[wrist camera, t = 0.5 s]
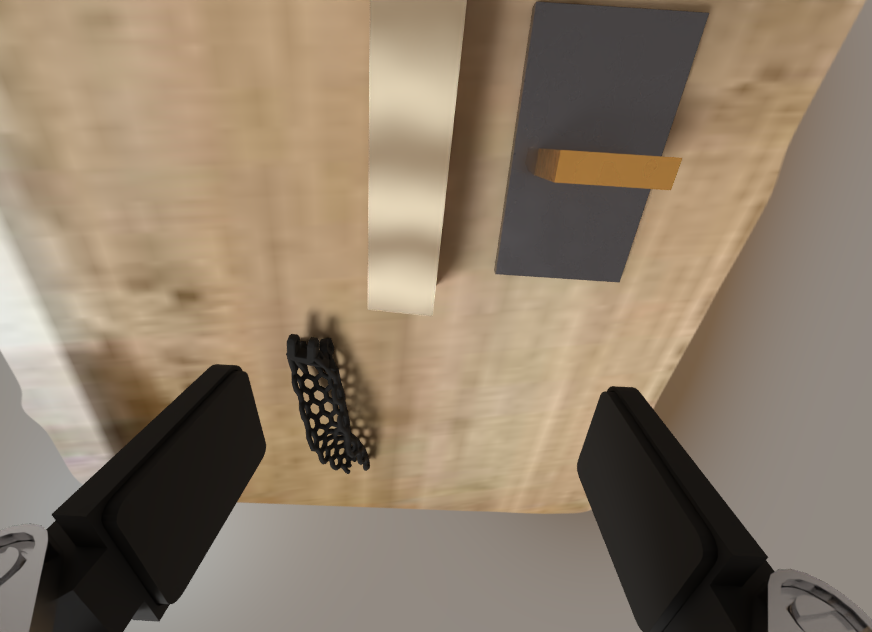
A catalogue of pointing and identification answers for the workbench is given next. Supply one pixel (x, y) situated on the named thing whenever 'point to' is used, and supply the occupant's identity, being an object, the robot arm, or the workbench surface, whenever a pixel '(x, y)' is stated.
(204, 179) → the workbench surface
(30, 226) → the workbench surface
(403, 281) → the maple bar
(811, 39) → the workbench surface
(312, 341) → the decorative element
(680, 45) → the stand
